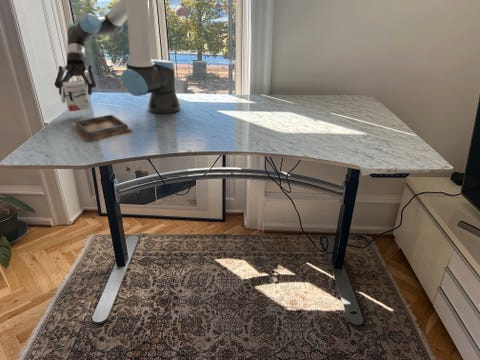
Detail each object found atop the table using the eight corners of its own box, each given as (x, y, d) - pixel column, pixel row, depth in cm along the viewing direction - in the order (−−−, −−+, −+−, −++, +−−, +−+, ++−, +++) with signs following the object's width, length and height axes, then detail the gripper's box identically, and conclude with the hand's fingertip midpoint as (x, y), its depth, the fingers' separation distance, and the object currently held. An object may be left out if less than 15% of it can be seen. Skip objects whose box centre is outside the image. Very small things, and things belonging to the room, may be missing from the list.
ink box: (70, 111, 149) (63, 84, 143) (68, 108, 153) (61, 82, 147) (90, 108, 153) (85, 82, 147) (88, 106, 157) (82, 80, 151)
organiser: (114, 119, 152) (113, 113, 151) (131, 131, 140) (131, 124, 139) (72, 127, 142) (70, 121, 140) (87, 141, 130) (85, 134, 129)
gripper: (103, 61, 159) (104, 104, 153) (53, 62, 156) (51, 106, 150) (99, 51, 152) (99, 95, 146) (46, 51, 149) (44, 97, 143)
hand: (75, 101), depth 148 cm, fingers closed on ink box, 9 cm apart
